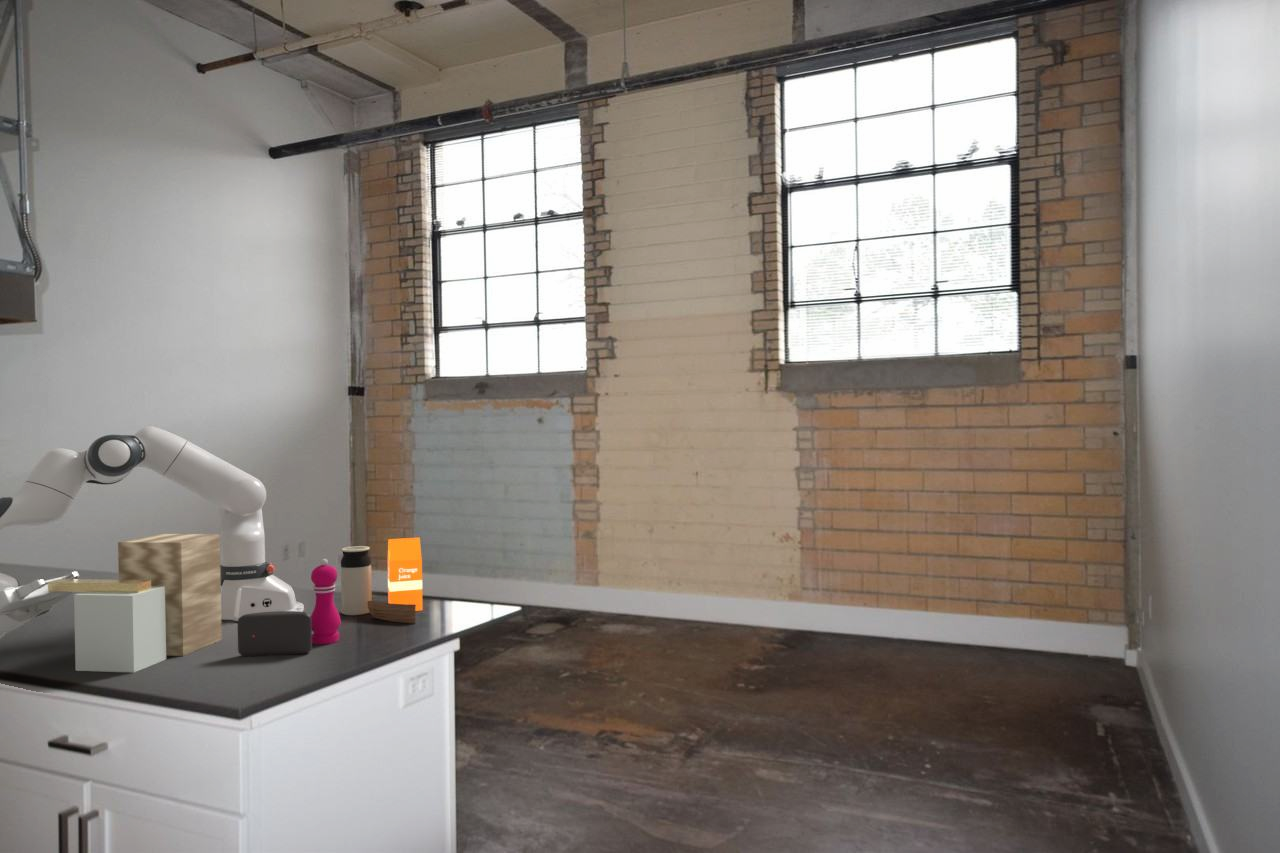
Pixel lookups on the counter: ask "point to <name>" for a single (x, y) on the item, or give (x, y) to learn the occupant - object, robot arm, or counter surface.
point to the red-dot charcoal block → (274, 633)
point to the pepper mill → (324, 605)
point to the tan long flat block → (99, 585)
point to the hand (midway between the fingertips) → (59, 577)
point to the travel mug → (355, 580)
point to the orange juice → (405, 572)
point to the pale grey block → (119, 630)
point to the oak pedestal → (180, 584)
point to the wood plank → (392, 611)
